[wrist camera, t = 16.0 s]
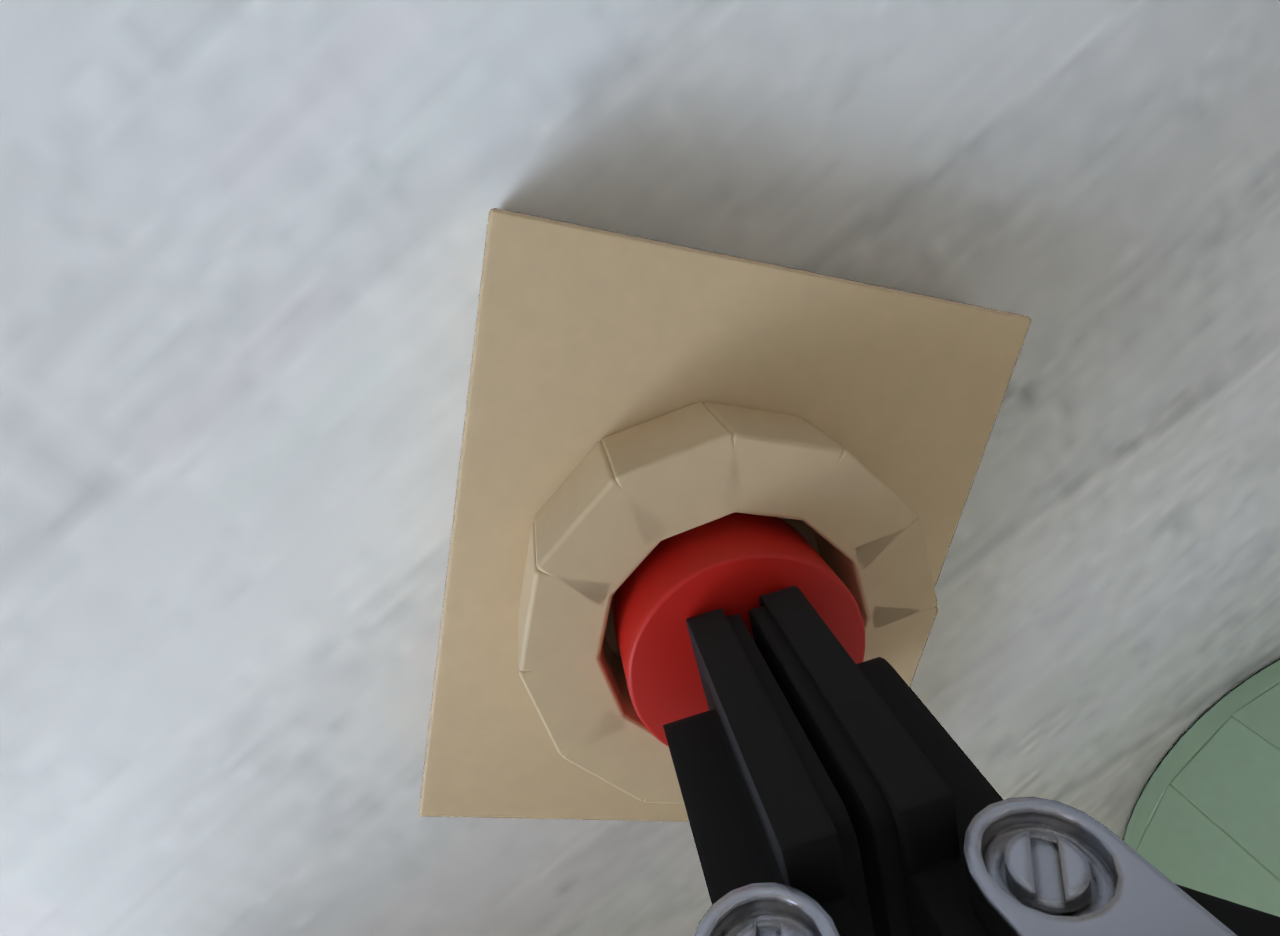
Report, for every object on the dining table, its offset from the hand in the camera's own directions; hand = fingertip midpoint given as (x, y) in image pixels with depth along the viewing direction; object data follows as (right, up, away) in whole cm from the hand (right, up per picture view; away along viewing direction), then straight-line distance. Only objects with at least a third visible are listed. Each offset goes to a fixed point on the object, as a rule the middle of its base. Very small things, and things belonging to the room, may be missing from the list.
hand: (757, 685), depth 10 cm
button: (0, +1, +2) cm, 2 cm away
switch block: (-1, +2, +4) cm, 4 cm away
